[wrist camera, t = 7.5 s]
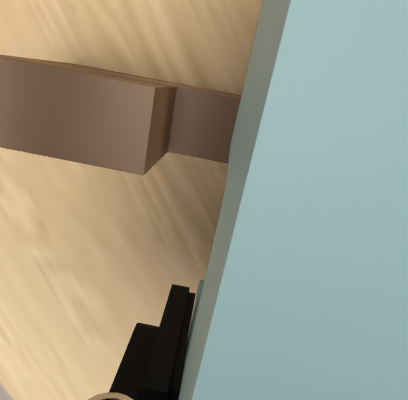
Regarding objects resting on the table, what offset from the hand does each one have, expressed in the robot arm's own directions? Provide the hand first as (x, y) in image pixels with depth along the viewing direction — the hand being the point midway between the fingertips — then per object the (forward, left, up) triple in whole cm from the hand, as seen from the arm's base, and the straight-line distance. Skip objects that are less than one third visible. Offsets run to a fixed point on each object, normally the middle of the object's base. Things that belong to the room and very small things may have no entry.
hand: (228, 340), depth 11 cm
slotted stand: (+5, -3, -9) cm, 11 cm away
